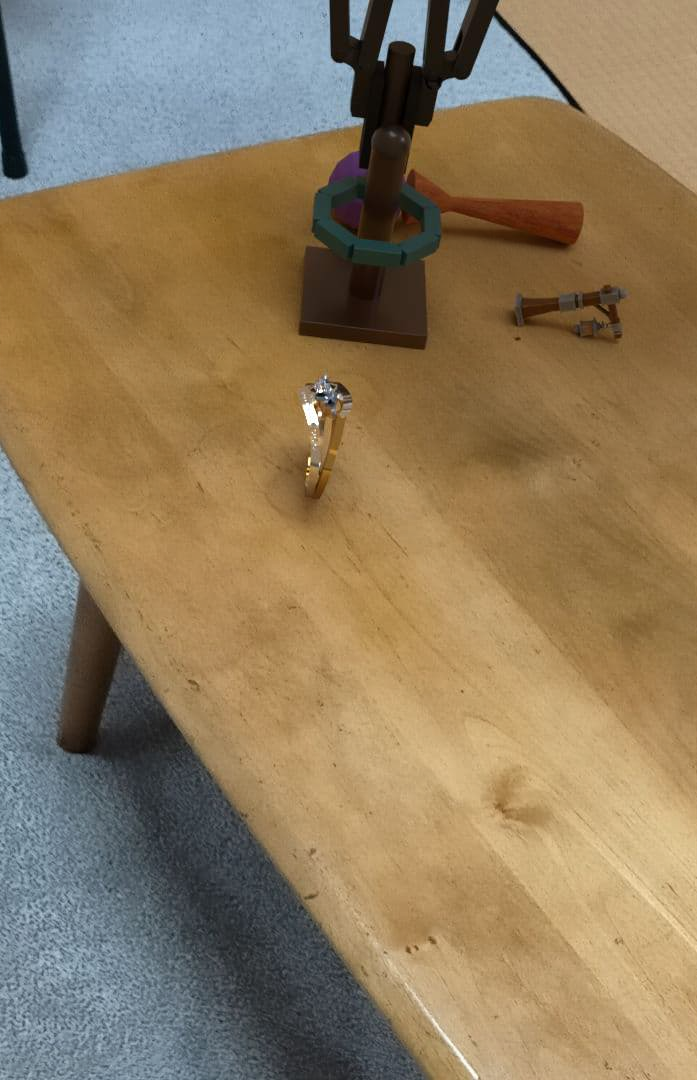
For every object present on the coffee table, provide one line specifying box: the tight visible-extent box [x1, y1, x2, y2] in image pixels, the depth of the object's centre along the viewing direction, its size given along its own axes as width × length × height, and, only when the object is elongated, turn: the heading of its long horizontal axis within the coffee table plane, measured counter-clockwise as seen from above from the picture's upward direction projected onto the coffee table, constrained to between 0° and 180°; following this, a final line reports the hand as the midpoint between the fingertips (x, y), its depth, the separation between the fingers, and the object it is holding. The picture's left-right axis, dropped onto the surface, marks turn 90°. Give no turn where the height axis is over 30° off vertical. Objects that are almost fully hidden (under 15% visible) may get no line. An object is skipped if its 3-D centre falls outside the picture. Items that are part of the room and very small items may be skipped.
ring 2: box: [311, 40, 443, 268], centre depth 82 cm, size 9×9×11 cm
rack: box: [298, 123, 428, 350], centre depth 85 cm, size 9×9×14 cm
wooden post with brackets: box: [513, 284, 629, 340], centre depth 91 cm, size 2×8×4 cm, turn 79°
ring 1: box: [298, 371, 354, 500], centre depth 75 cm, size 7×3×8 cm, turn 176°
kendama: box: [327, 150, 585, 246], centre depth 96 cm, size 6×6×20 cm
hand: (382, 160), depth 86 cm, fingers closed on ring 2, 2 cm apart
